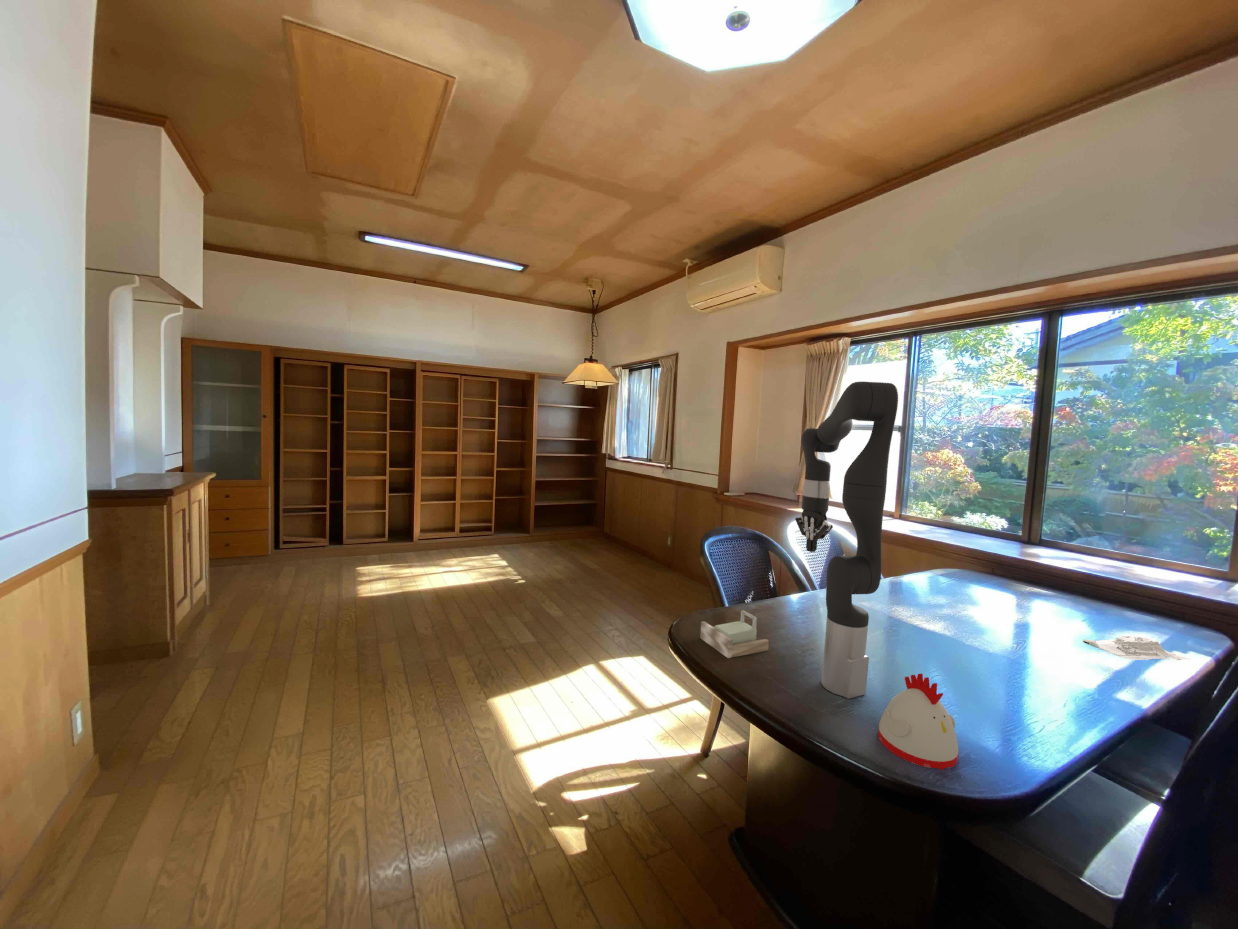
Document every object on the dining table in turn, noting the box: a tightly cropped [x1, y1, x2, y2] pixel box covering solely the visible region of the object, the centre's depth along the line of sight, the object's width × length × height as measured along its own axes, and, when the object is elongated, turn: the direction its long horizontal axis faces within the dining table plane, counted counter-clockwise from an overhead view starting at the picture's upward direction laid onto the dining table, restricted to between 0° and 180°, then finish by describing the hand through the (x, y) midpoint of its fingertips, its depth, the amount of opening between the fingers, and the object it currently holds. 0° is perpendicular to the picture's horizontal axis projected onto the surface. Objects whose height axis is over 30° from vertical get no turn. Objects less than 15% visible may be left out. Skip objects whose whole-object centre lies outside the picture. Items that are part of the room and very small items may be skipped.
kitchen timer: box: [877, 673, 959, 770], centre depth 99 cm, size 14×14×15 cm
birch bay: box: [699, 620, 770, 659], centre depth 143 cm, size 13×14×5 cm
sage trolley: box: [714, 610, 758, 645], centre depth 141 cm, size 8×10×10 cm
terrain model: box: [1082, 635, 1189, 661], centre depth 154 cm, size 17×23×5 cm
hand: (811, 551), depth 149 cm, fingers closed
